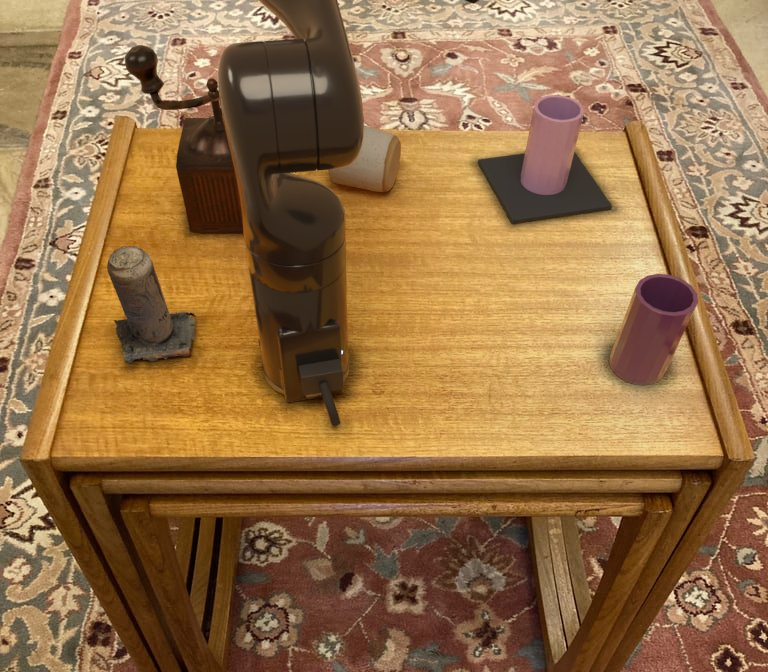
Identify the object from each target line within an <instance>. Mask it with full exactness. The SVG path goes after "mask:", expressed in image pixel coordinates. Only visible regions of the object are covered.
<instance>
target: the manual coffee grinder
mask: <svg viewBox="0 0 768 672" xmlns="http://www.w3.org/2000/svg"><path fill="white" fill-rule="evenodd" d="M158 63H159V59H158V55H157V53H156V52H155V51H154V49H153V48H151V47H150V46H148V45H144V44H138V45H135V46H133V47H131V48H130V49H129V50H128V52H127V53H125V55H124V64H125V68H126V70H127V73H129V74H130V75H132V77H134V78H136V79H137V80H138V81H139V82H140V89H141V92H142V94H144V95H145V94H146V95H149V96H150V98H151V101H152V103H153V105H154V106H155V107H157V108H158V109H160V110H163V111H177V110H186V109H187V110H188V109H195V108H199V107H202V106H205V105H207V104H209V103H210V104H211V109H212V115H211V116H207V117H185V118H184V121H183V124H182V129H181V133H180V137H179V143H178V147H177V153H176V163H175V168H176V169H175V170H176V174H177V178H178V182H179V186H180V190H181V196H182V200H183V203H184V208H185V213H186V219H187V223H188V230H189V232H190V233H195V234H201V235H238V234H239V235H241V234H243V235H244V233H243V225H242V217H241V209H240V201H239V195H238V188H237V183H236V178H235V173H234V168H233V163H232V158H231V154H230V149H229V144H228V140H227V135H226V131H225V126H224V121H223V116H222V110H221V105H220V97H219V88H218V80H216V79H215V78H213V77H211V78H208V80H207V82H206V83H205V84H206V85H205V86H206V88H207V90H208V91H207V94H205V95H202V96H200V97H196V98H192V99H185V100H176V101H165V100H162V99H161V96H160V92H161V89H162V88H163V87H164V85H165V83H164V81H163V80H162V78H160V77H159V74H158V69H157V68H158Z"/></svg>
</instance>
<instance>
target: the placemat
mask: <svg viewBox="0 0 768 672" xmlns="http://www.w3.org/2000/svg"><path fill="white" fill-rule="evenodd" d="M524 156H525V152H524V153H517V154H510V155H509V154H508V155H501V156H495V157H487V158H480V159H478V160H477V165H478V167H479V168H480V170H481V172H482V173H483V175H484V177H485V178H486V179H485V180H486V181H487V183H488V184H489V186H490V187H491V189H492V191H493V193H494V194H495V196H496V198H497V200H498V202H499V203H500V206H501V207H502V209H503V211H504V212H505V214H506V216H507V218H508V219H509V221H510V223H511V224H512V225H515V224H522V223H531V222H536V221H543V220H549V219H556V218H564V217H570V216H575V215H576V216H577V215H582V214H583V215H584V214H589V213H596V212H604V211H610V210H612V208H613V205H612V203H611V202H610V200H609V199H608V198H607V196H606V195H605V193H604V191H602V189H601V188H600V186H599V185H598V183H597V182H596V180H595V179H594V178H593V176H592V174H591V172H589V170H588V169H587V168H586V166H585V164H584V163H583V162H582V160H581V159H580V157H579V156H578V154H577V153H576V152H575V151H574V155H573V160H572V164H571V168H570V172H569V176H568V180H567V183H566V187H565V188H564V190H562V191H561V192H559V193H557V194H553V195H540V194H536V193H533V192H530V191H529V190H527V189H526V188H525V187H524V186H523V185H522V184H521V180H520V178H521V172H522V167H523V161H524Z"/></svg>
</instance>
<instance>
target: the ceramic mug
mask: <svg viewBox="0 0 768 672" xmlns="http://www.w3.org/2000/svg"><path fill="white" fill-rule="evenodd" d="M401 154H402V143H401V140H400V139H399V137H398V136H397V135H395V134H393V133H391V132H388V131H386V130H383V129H378V128H374V127H371V126H367V125H364V135H363V142H362V147H361V150H360V152H359V154H358V156H357V158H356V159H355V160H354V161H353V162H352V163H351V164H349V165H347V166H343V167H340V168H335V169H328V175H329V176H328V177H329V179H330V182H332V183H333V184H338V185H341V186H347V187H351V188H357V189H363V190H367V191H372V192H377V193H386V192H388V191H390V190H391V189H392V188H393V185H394V184H395V181H396V179H397V177H398V176H397V175H398V171H399V168H400V162H401Z"/></svg>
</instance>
